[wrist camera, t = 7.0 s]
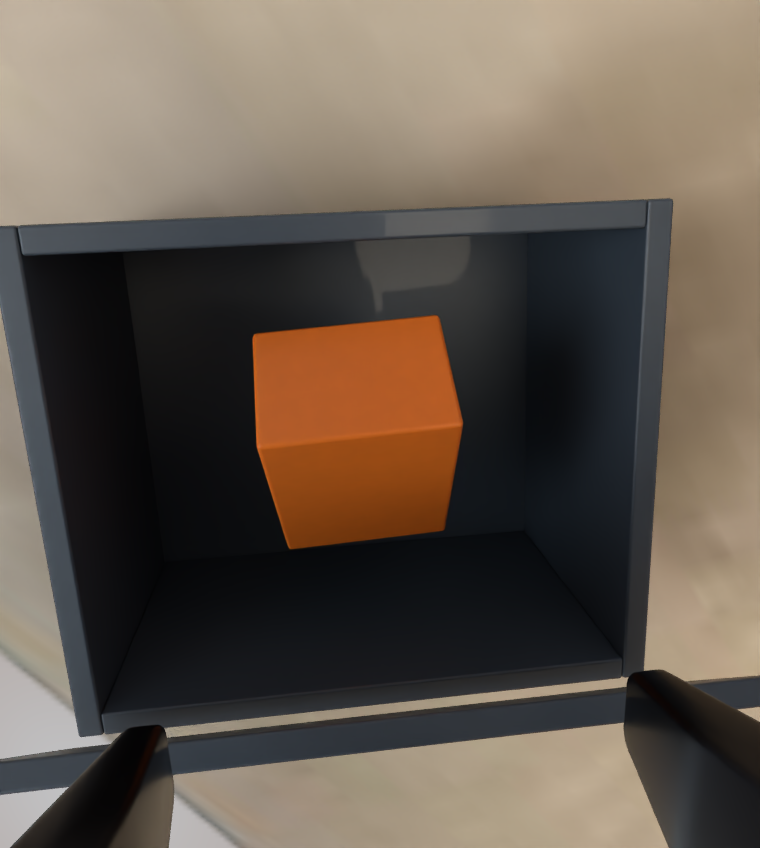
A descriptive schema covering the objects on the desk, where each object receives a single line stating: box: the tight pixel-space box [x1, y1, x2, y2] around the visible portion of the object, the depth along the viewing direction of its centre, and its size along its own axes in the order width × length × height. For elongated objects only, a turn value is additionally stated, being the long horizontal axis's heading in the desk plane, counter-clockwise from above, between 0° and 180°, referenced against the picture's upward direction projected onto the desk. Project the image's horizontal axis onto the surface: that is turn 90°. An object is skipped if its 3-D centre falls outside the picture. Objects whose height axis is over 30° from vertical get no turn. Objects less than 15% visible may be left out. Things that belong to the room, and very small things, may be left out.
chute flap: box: [0, 676, 760, 795], centre depth 12 cm, size 5×12×1 cm
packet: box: [253, 315, 463, 549], centre depth 14 cm, size 4×4×2 cm
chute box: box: [0, 198, 673, 737], centre depth 17 cm, size 10×12×8 cm
